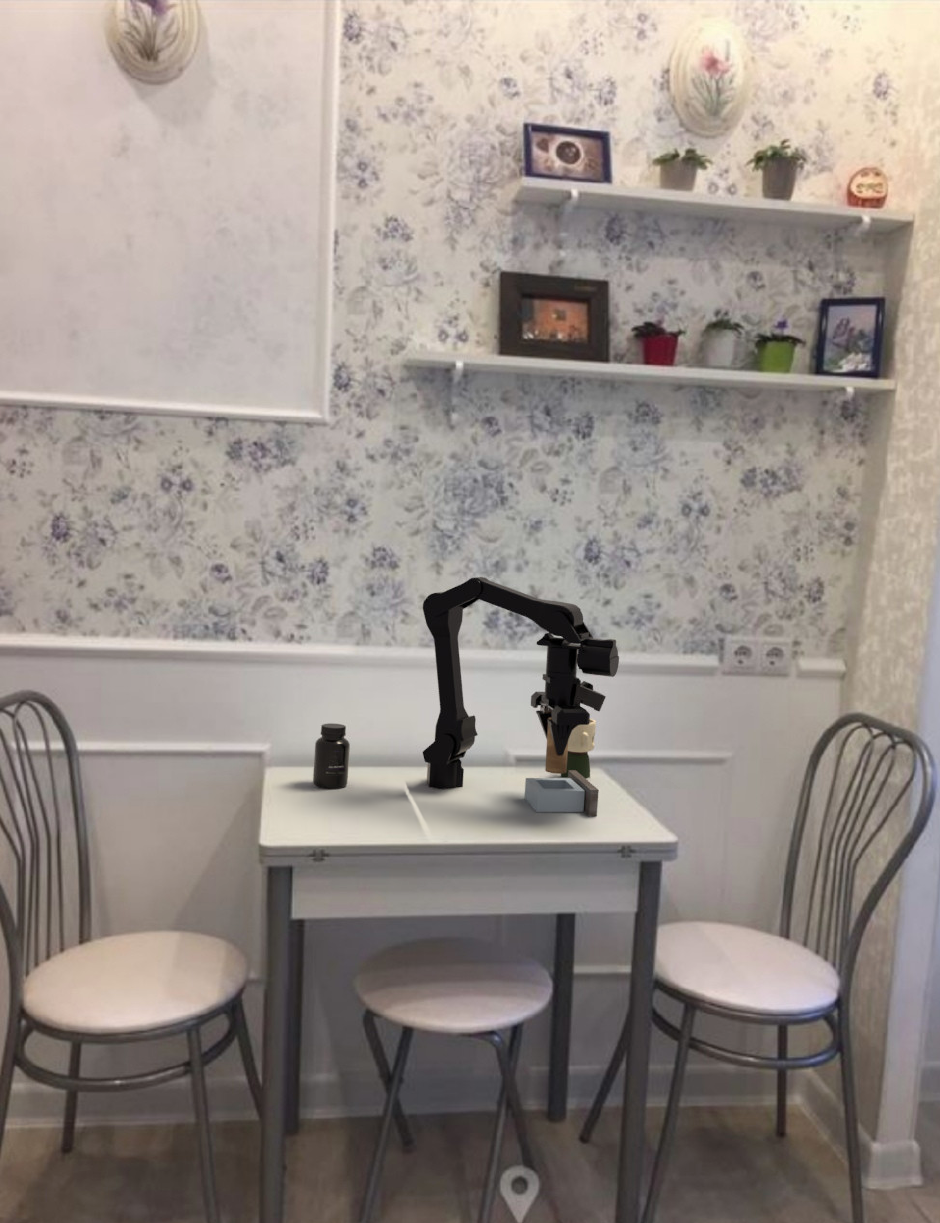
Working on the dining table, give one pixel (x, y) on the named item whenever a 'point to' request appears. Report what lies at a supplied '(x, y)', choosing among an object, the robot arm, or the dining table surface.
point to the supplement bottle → (331, 757)
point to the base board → (586, 792)
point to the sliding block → (554, 795)
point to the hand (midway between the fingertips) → (556, 752)
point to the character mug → (580, 749)
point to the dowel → (555, 757)
